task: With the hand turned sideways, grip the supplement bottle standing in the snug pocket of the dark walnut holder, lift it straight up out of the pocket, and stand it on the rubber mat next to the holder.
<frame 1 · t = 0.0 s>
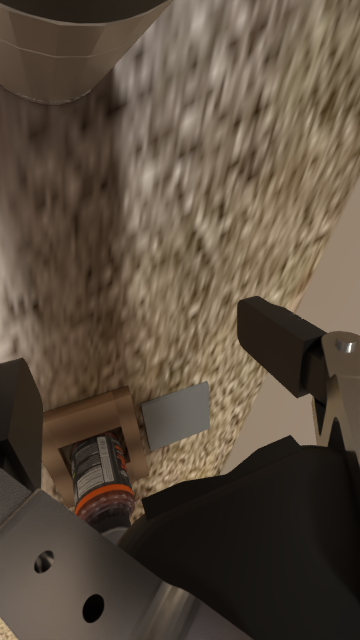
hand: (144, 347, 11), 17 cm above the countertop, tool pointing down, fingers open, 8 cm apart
supplement bottle: (95, 444, 37), resting in walnut holder
rubber mat: (177, 415, 40), on the countertop
walnut holder: (95, 445, 37), on the countertop
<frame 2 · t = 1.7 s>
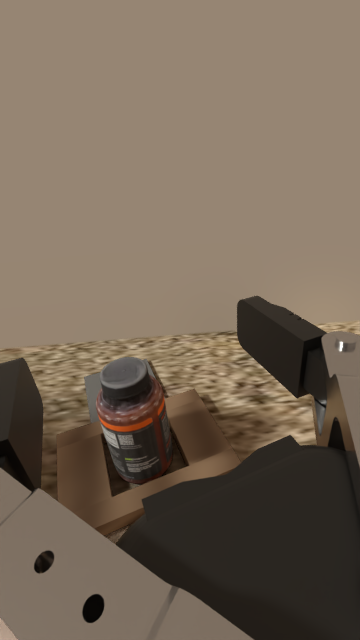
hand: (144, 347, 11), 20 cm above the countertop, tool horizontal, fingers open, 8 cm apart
supplement bottle: (144, 459, 30), resting in walnut holder
rubber mat: (122, 389, 39), on the countertop
walnut holder: (144, 458, 30), on the countertop
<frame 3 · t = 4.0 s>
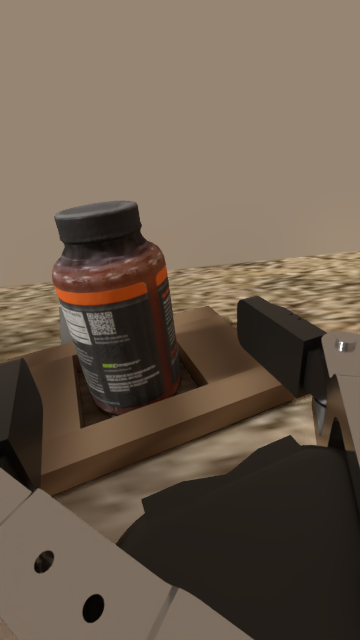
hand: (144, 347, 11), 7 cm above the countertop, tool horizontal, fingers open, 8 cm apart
supplement bottle: (137, 388, 20), resting in walnut holder
walnut holder: (137, 386, 20), on the countertop
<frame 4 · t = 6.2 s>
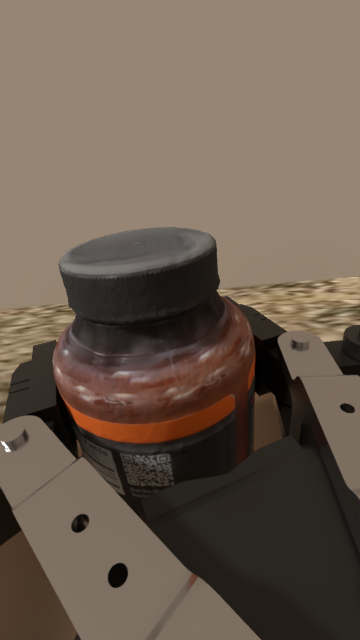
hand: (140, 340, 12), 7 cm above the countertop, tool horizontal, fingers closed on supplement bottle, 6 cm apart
supplement bottle: (181, 505, 13), resting in walnut holder, touching gripper
walnut holder: (181, 502, 13), on the countertop
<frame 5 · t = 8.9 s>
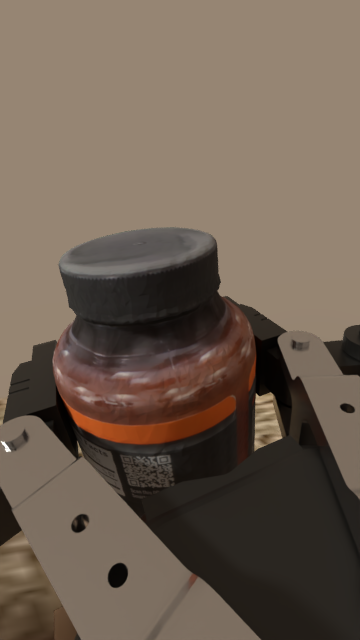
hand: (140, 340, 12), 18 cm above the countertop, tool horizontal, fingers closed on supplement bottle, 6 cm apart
supplement bottle: (182, 506, 13), point 10 cm above the countertop, touching gripper
when the fingers open (9 cm above the countertop, at t = 12.1 s): supplement bottle drops 1 cm, resting on rubber mat.
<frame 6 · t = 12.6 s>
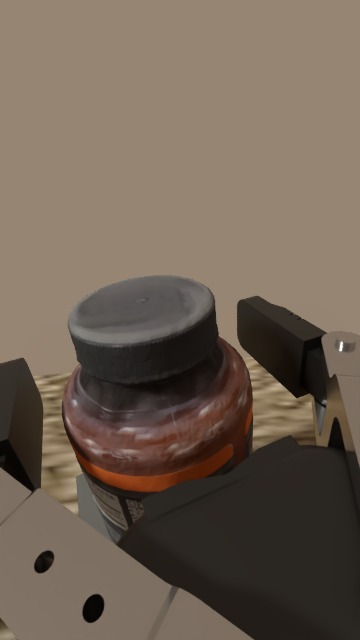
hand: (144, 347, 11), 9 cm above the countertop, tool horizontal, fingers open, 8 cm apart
supplement bottle: (183, 527, 14), resting on rubber mat
rubber mat: (184, 527, 14), on the countertop
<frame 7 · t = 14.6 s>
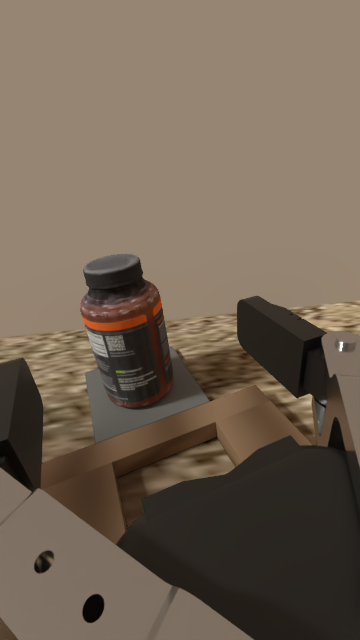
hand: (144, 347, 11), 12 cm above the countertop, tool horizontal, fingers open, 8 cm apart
supplement bottle: (141, 388, 26), resting on rubber mat
rubber mat: (142, 389, 26), on the countertop
walnut holder: (189, 505, 17), on the countertop
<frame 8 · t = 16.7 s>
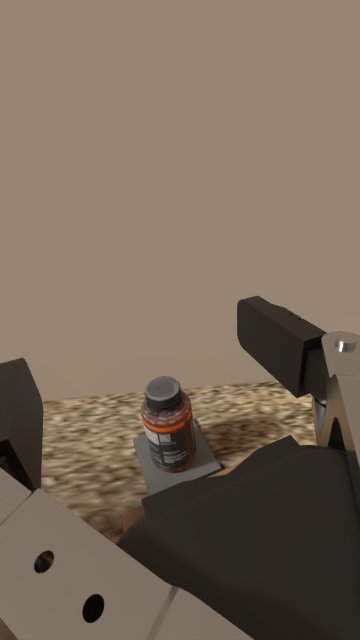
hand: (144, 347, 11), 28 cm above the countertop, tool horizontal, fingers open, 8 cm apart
supplement bottle: (174, 454, 39), resting on rubber mat
rubber mat: (174, 455, 39), on the countertop
walnut holder: (212, 542, 30), on the countertop
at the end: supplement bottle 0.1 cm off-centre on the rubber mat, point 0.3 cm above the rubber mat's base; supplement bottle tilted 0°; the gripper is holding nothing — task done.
